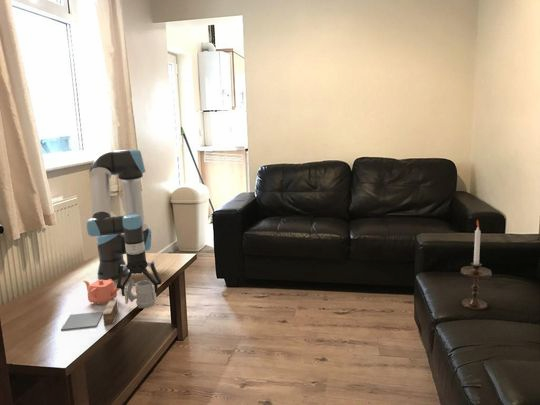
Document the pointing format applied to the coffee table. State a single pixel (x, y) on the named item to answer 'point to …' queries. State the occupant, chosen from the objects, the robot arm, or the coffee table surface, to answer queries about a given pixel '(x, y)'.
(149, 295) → the mug
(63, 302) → the coffee table surface
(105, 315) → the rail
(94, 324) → the plate
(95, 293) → the teapot
